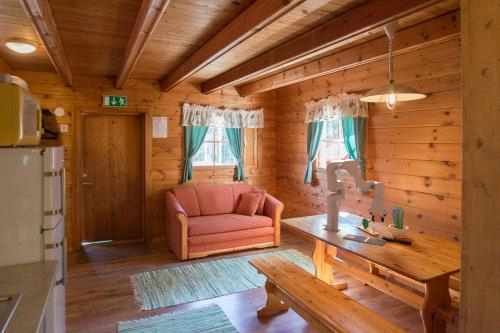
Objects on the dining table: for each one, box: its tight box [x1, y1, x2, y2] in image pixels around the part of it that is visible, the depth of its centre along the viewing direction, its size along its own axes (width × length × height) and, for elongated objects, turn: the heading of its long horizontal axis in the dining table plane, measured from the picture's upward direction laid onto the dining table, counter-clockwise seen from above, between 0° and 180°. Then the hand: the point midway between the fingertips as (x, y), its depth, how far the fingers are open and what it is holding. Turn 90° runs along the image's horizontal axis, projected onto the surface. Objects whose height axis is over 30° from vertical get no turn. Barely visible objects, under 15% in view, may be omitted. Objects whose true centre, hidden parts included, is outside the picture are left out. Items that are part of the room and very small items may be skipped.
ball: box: [374, 214, 382, 223], centre depth 255 cm, size 6×6×6 cm
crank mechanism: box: [356, 213, 380, 237], centre depth 285 cm, size 25×7×19 cm, turn 13°
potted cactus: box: [387, 205, 410, 239], centre depth 271 cm, size 15×15×25 cm
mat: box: [342, 233, 387, 247], centre depth 263 cm, size 30×13×1 cm, turn 56°
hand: (377, 221), depth 256 cm, fingers closed on ball, 5 cm apart
